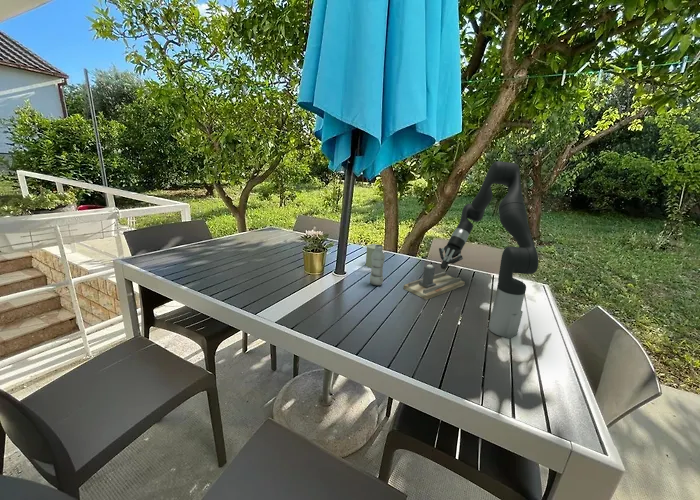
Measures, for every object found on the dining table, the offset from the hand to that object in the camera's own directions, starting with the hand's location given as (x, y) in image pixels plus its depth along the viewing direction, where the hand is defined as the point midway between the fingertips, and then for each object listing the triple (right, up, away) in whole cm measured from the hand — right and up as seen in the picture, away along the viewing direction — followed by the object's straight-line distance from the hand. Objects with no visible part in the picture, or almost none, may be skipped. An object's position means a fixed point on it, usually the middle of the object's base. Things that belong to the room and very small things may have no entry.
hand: (442, 268), depth 154 cm
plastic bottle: (-33, -8, +1) cm, 34 cm away
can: (-32, 0, +27) cm, 42 cm away
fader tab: (-8, -8, -3) cm, 12 cm away
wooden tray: (-4, -9, +2) cm, 10 cm away
